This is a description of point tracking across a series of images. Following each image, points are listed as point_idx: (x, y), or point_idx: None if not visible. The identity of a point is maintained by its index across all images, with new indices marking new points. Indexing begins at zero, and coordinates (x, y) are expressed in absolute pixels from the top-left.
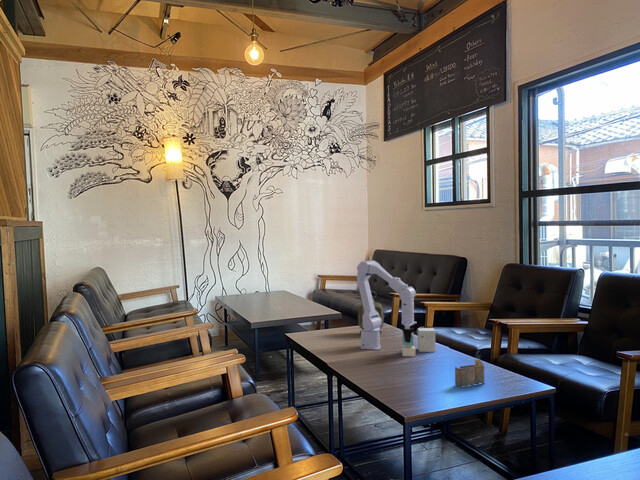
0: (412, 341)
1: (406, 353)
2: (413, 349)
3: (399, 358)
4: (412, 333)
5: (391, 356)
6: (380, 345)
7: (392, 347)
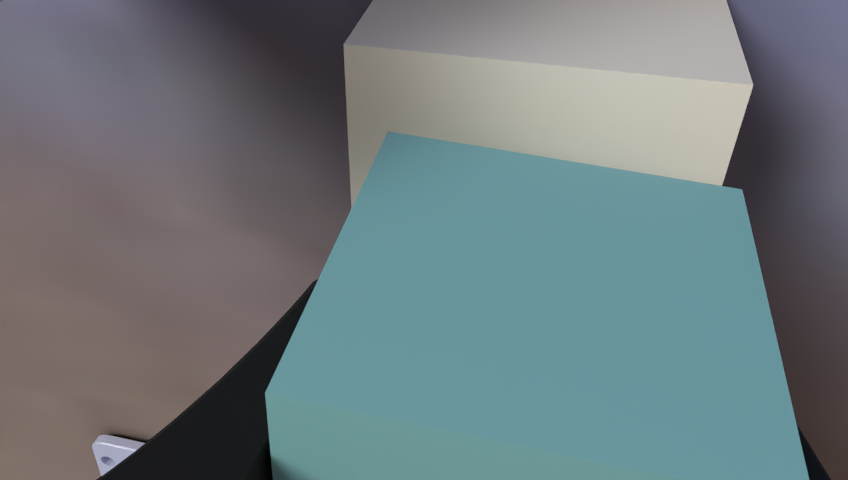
0: (756, 309)
1: None
2: (731, 124)
3: (824, 322)
4: (404, 449)
5: None
6: (126, 452)
7: (112, 311)
